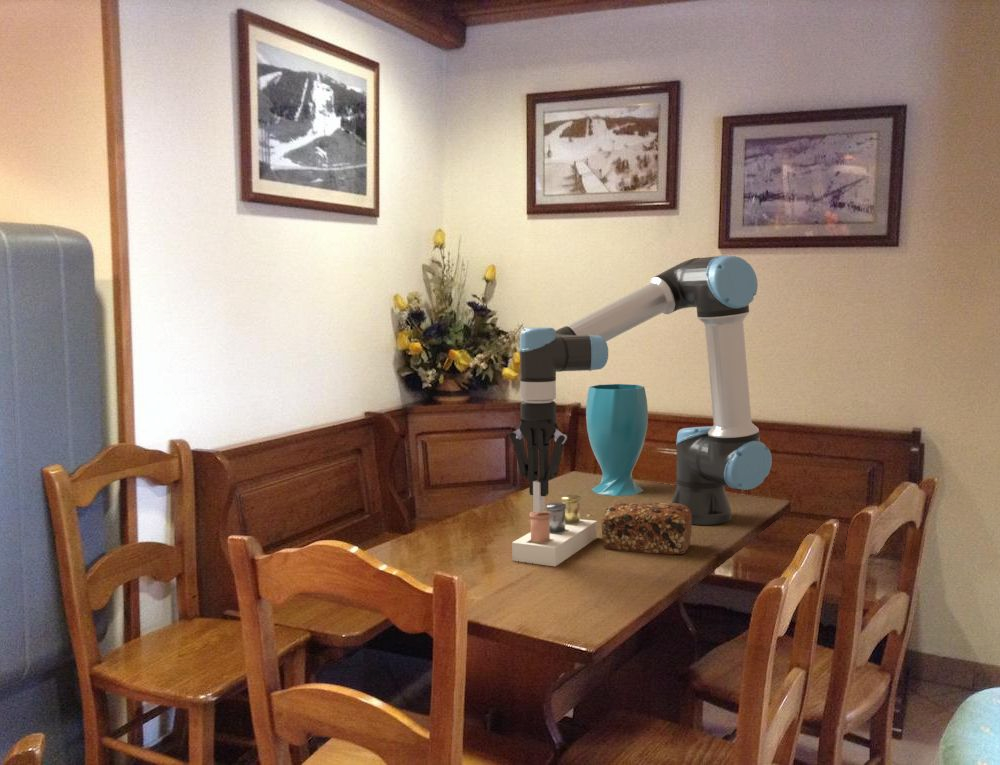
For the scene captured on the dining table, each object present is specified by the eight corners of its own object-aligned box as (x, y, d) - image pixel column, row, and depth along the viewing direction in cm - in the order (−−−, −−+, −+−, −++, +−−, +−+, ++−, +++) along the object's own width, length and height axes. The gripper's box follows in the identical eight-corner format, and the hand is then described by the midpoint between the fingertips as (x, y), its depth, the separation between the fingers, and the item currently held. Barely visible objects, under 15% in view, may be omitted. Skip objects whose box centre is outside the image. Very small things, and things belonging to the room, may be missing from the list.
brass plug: (583, 520, 205) (583, 495, 205) (576, 524, 202) (576, 499, 201) (566, 518, 207) (565, 494, 207) (558, 522, 204) (558, 498, 203)
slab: (597, 537, 206) (596, 520, 205) (555, 566, 184) (555, 547, 184) (557, 533, 210) (557, 516, 210) (512, 560, 189) (512, 542, 189)
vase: (632, 499, 243) (631, 391, 241) (576, 492, 253) (575, 388, 250) (657, 487, 258) (656, 385, 255) (603, 481, 267) (602, 382, 264)
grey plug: (569, 529, 198) (569, 503, 197) (561, 533, 194) (561, 507, 193) (551, 527, 200) (551, 501, 199) (543, 531, 196) (542, 506, 195)
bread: (692, 544, 199) (693, 501, 198) (684, 557, 189) (684, 512, 189) (612, 537, 206) (612, 495, 205) (600, 550, 196) (599, 505, 195)
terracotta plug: (553, 538, 190) (553, 512, 190) (545, 543, 187) (544, 516, 186) (535, 536, 192) (534, 510, 192) (526, 541, 189) (526, 514, 188)
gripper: (573, 400, 187) (574, 509, 189) (518, 397, 193) (519, 504, 195) (559, 404, 180) (560, 517, 182) (502, 401, 186) (503, 511, 188)
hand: (539, 510), depth 189 cm, fingers closed
